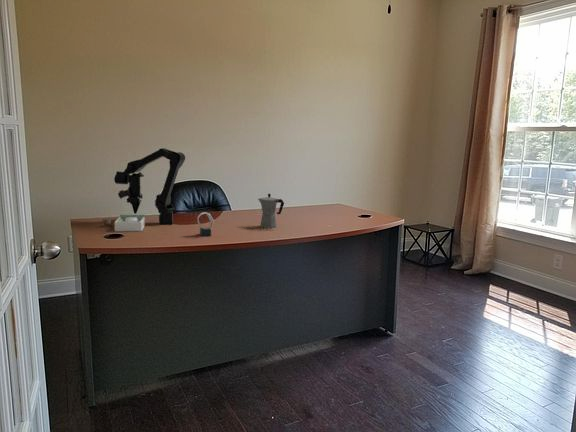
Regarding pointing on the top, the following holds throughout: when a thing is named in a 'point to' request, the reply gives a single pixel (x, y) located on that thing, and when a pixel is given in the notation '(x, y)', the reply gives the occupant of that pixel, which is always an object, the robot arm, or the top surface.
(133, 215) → the drawer
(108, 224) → the stand
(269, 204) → the coffeepot
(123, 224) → the shallow white bin
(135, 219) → the dome
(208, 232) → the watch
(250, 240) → the top surface
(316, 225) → the top surface
